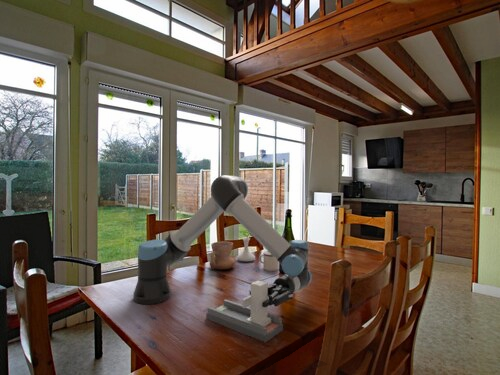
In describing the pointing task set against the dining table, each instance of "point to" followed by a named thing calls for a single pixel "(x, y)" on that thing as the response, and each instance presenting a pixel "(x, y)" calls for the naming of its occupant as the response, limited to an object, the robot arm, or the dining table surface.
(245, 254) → the flower in vase
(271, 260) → the beige enamel mug
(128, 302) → the dining table surface
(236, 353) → the dining table surface
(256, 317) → the switch lever
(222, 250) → the ceramic jug
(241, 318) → the switch base
